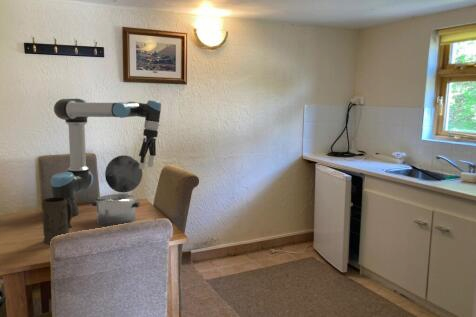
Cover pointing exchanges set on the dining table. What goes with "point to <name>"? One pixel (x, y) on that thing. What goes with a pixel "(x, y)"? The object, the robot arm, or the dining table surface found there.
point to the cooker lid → (123, 174)
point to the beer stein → (56, 217)
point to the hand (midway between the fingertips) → (146, 167)
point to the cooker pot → (115, 209)
